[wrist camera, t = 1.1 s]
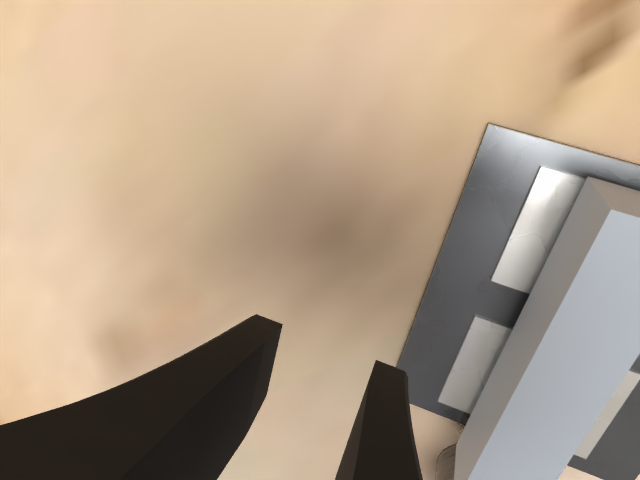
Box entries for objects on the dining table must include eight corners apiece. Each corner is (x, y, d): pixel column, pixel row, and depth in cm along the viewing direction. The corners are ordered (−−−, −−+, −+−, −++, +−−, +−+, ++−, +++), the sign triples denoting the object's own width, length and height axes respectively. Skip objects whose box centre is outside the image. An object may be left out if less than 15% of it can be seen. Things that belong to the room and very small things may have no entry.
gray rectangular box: (514, 467, 20) (518, 538, 17) (456, 444, 20) (451, 509, 18) (670, 199, 15) (714, 240, 12) (587, 176, 15) (611, 209, 12)
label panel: (625, 482, 20) (629, 493, 19) (388, 390, 22) (386, 397, 21) (825, 216, 14) (836, 222, 14) (488, 122, 16) (488, 125, 16)
